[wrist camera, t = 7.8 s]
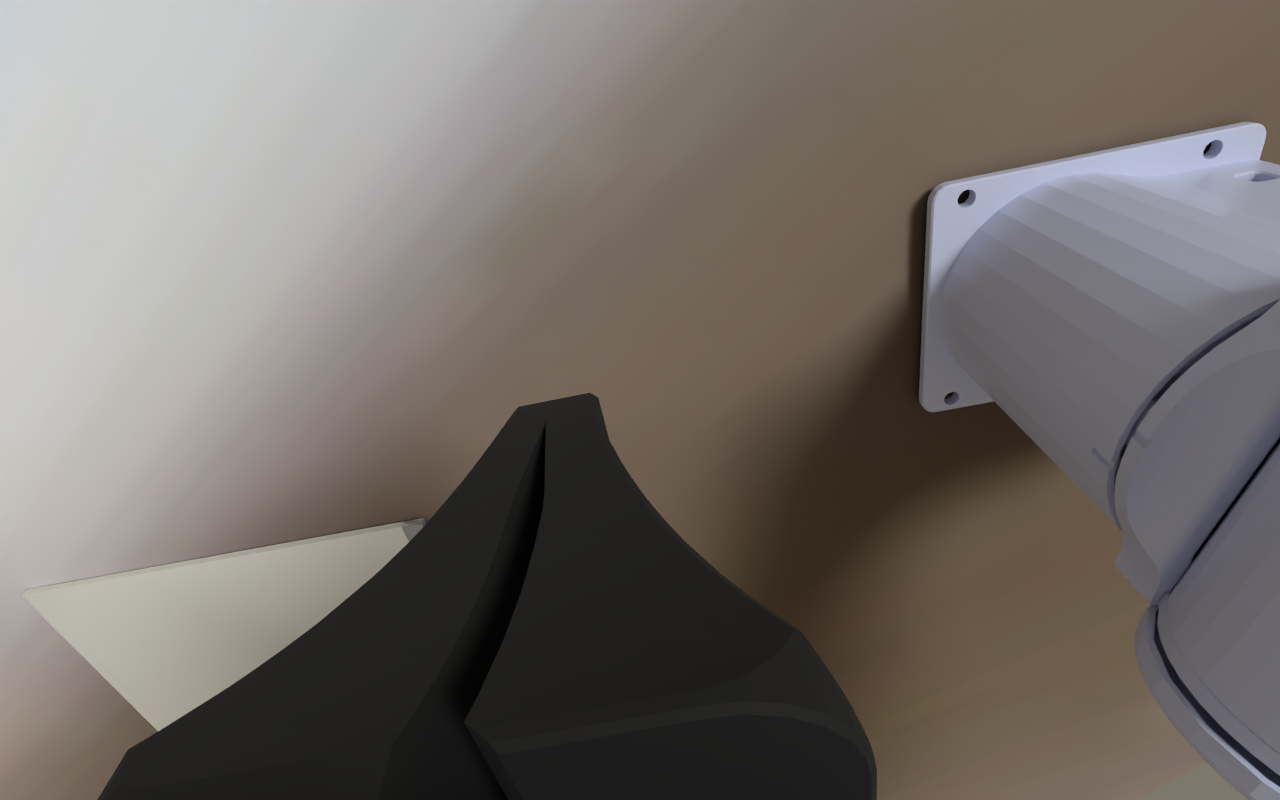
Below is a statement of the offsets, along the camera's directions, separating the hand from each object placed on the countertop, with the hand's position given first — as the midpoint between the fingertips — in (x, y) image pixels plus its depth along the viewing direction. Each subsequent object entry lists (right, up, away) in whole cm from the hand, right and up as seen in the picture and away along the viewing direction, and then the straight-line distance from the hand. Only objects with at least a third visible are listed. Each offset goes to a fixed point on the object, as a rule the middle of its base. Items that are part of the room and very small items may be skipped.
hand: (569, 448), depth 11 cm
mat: (-14, -11, +18) cm, 25 cm away
